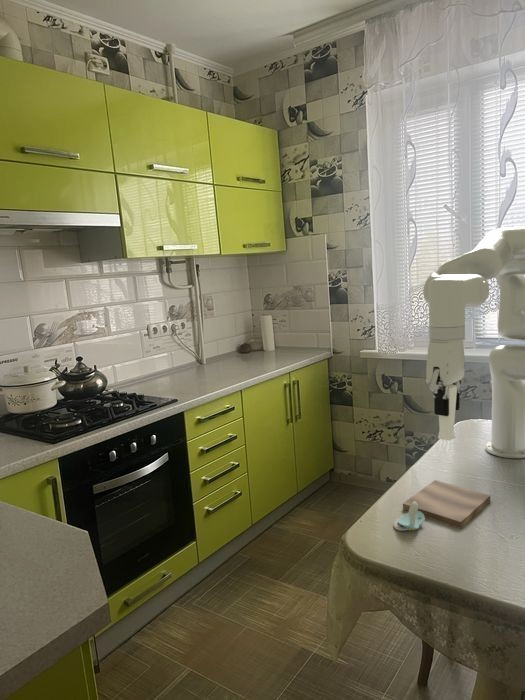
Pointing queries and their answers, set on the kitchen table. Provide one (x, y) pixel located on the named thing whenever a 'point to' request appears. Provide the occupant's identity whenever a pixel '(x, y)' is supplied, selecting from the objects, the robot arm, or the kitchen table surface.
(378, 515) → the kitchen table surface
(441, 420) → the white tall faceted piece
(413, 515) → the pacifier
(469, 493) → the walnut board
